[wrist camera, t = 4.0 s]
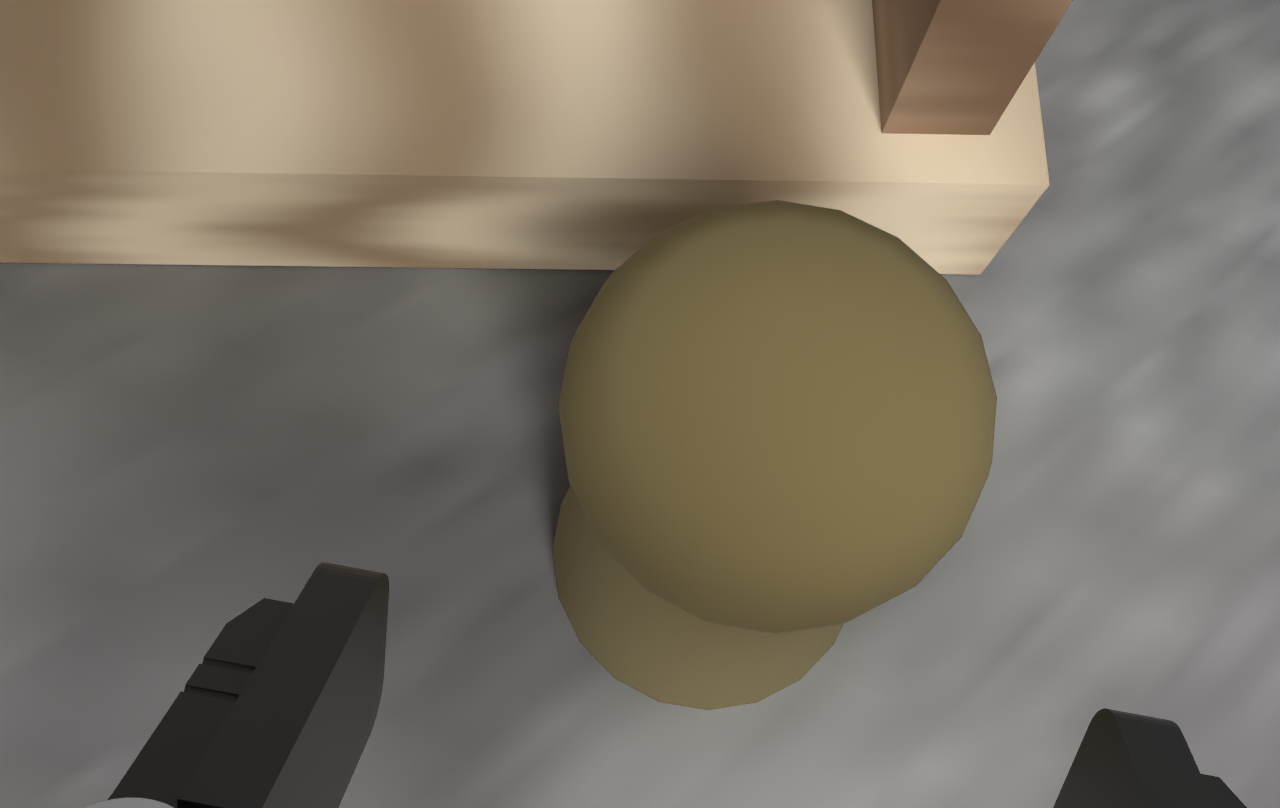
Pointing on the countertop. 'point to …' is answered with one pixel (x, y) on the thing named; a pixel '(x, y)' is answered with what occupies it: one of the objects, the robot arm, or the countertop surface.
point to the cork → (761, 447)
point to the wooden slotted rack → (506, 126)
